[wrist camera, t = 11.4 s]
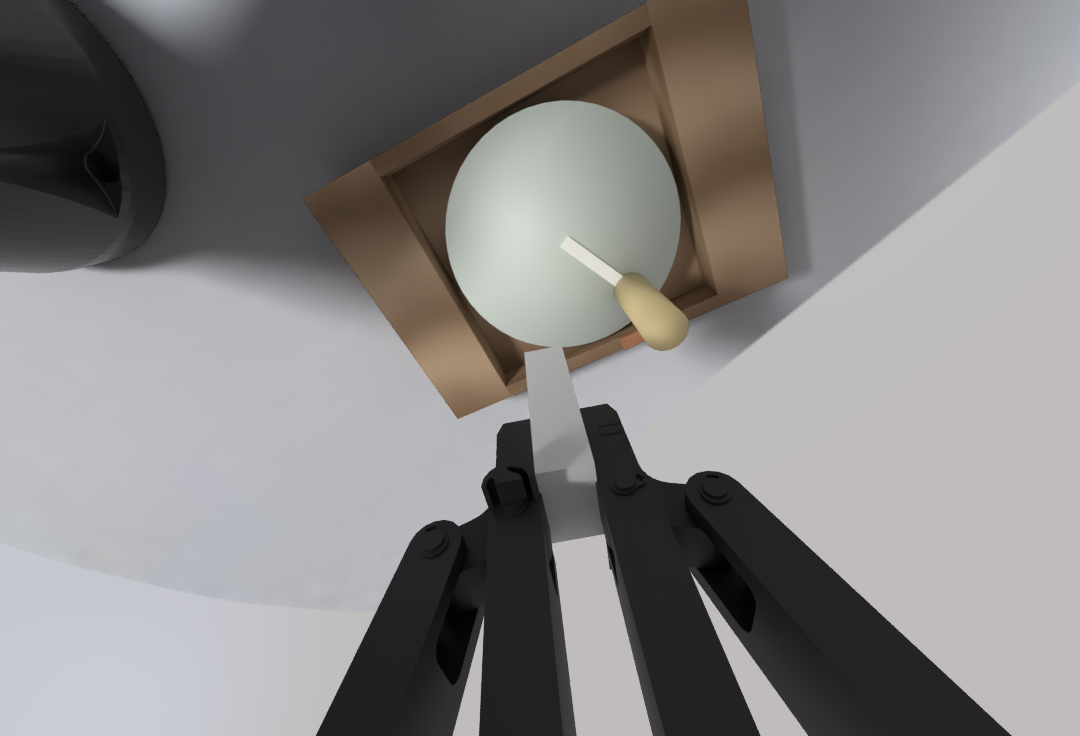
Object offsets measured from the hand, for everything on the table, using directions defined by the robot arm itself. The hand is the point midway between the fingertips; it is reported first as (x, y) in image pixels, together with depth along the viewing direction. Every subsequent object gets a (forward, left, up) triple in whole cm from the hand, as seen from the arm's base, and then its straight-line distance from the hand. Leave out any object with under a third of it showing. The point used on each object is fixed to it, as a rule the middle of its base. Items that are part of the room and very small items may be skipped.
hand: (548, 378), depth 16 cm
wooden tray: (-3, +3, -12) cm, 13 cm away
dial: (-3, +3, -10) cm, 10 cm away
